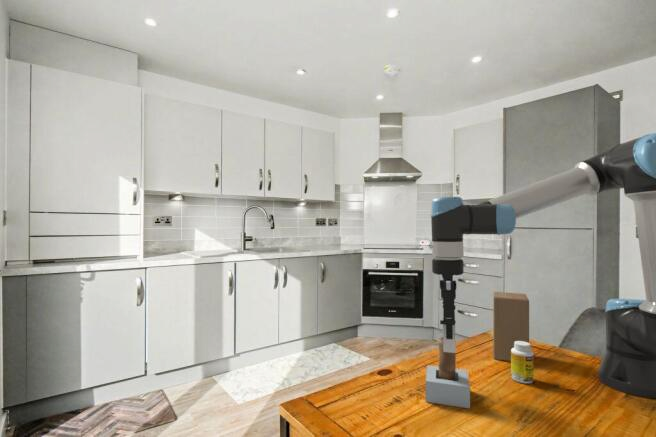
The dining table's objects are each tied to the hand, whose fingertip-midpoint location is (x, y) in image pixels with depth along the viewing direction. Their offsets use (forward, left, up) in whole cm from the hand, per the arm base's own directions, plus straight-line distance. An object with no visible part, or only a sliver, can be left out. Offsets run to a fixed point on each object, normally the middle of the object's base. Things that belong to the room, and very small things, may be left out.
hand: (448, 342), depth 89 cm
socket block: (0, 0, -13) cm, 13 cm away
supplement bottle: (-20, -16, -14) cm, 29 cm away
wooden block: (-20, -34, -14) cm, 41 cm away
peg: (0, 0, -13) cm, 13 cm away
